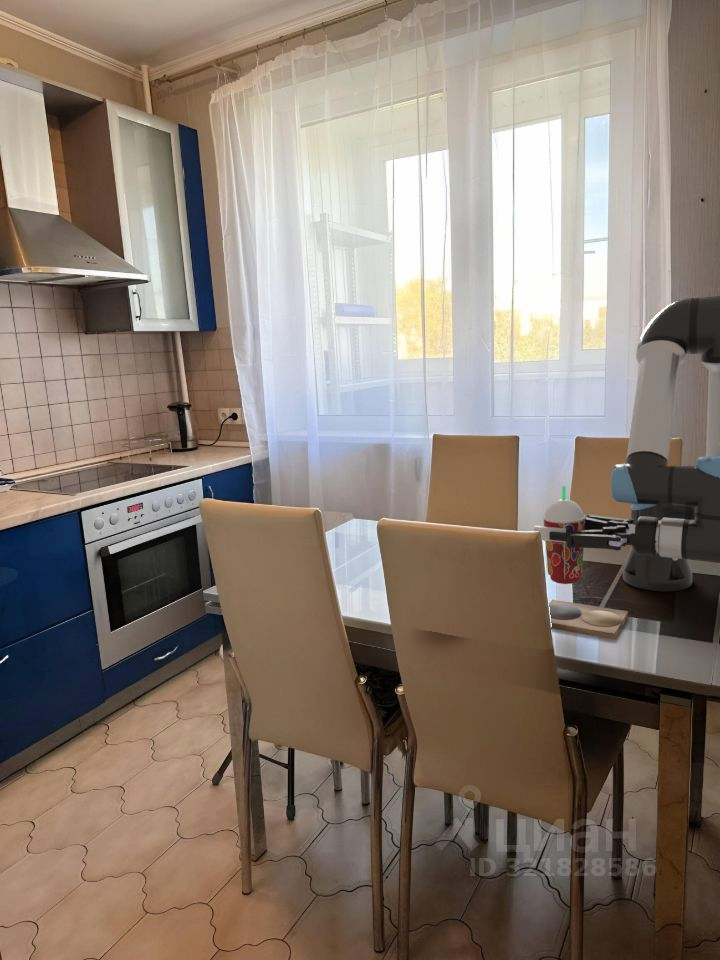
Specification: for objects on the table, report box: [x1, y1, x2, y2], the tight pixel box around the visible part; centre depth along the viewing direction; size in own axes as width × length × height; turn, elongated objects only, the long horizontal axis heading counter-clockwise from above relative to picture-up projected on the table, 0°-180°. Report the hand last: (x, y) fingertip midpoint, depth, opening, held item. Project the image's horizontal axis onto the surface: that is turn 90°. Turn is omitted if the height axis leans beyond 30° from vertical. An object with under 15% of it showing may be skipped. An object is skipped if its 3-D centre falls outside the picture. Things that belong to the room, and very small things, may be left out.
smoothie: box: [542, 485, 586, 585], centre depth 137 cm, size 8×8×20 cm
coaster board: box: [548, 599, 629, 640], centre depth 140 cm, size 12×16×1 cm
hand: (541, 526), depth 140 cm, fingers closed on smoothie, 8 cm apart
